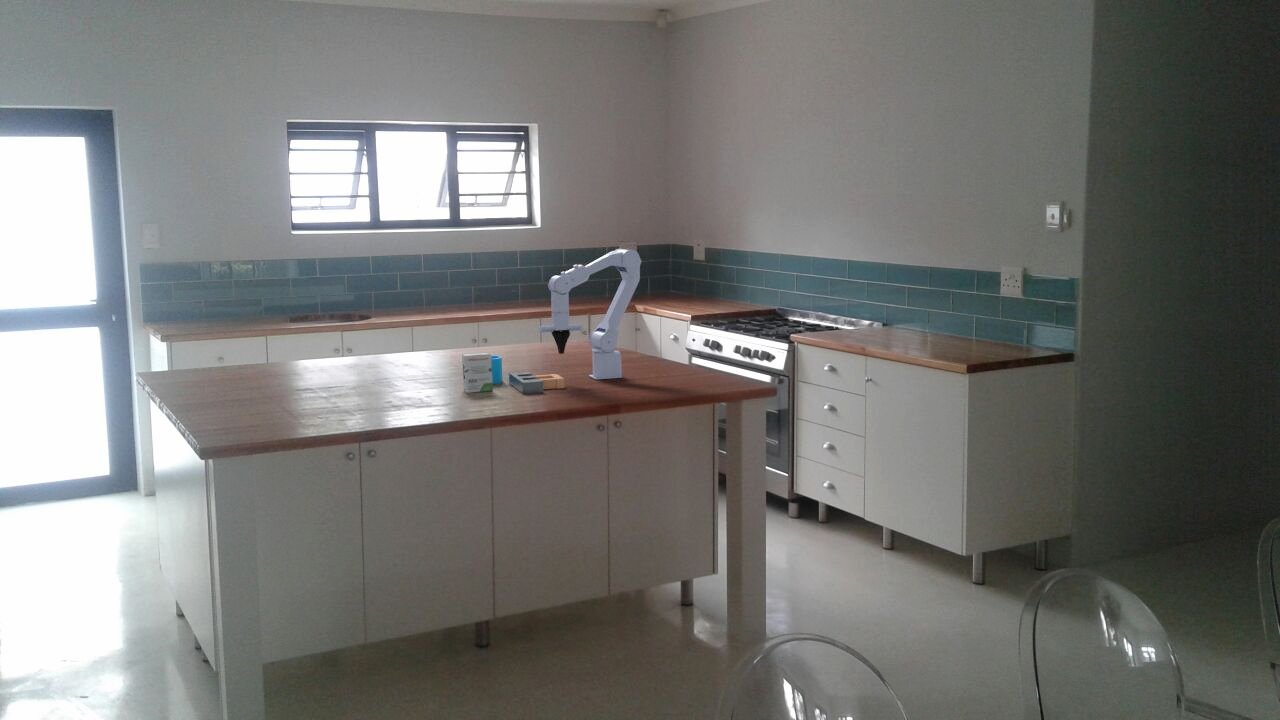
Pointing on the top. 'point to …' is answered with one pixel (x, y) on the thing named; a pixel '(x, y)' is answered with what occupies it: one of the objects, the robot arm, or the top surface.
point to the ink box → (477, 372)
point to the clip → (551, 381)
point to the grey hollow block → (525, 382)
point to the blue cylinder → (496, 369)
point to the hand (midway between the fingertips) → (561, 353)
